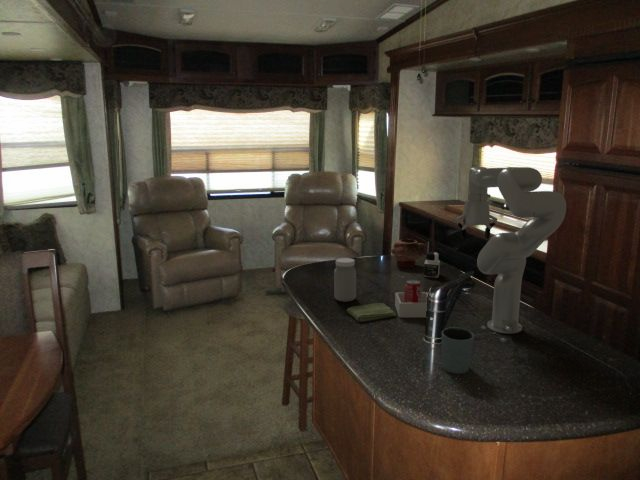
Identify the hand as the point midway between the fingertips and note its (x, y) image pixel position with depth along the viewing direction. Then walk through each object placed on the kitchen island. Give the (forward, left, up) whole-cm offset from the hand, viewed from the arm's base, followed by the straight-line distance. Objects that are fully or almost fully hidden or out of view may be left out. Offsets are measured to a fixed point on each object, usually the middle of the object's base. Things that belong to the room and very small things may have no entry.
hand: (475, 238), depth 222 cm
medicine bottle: (+44, +9, -30) cm, 54 cm away
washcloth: (-10, +44, -30) cm, 54 cm away
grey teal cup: (-58, +20, -30) cm, 68 cm away
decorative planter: (+63, +18, -30) cm, 72 cm away
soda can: (-7, +26, -29) cm, 40 cm away
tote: (-7, +26, -30) cm, 40 cm away
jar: (+9, +54, -30) cm, 62 cm away
